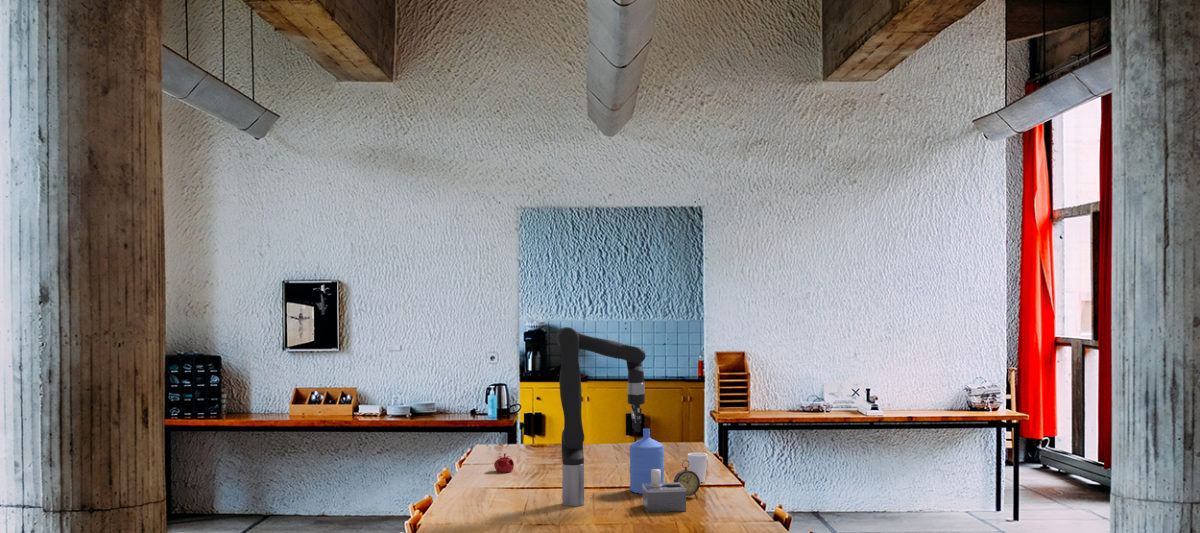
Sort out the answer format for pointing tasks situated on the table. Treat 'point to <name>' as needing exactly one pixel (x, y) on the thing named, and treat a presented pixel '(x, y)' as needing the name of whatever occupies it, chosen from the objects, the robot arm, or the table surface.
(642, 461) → the water jug
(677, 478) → the alarm clock
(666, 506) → the keyhole stand
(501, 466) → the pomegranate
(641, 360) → the robot arm
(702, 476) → the foam cup
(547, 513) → the table surface
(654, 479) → the peg
